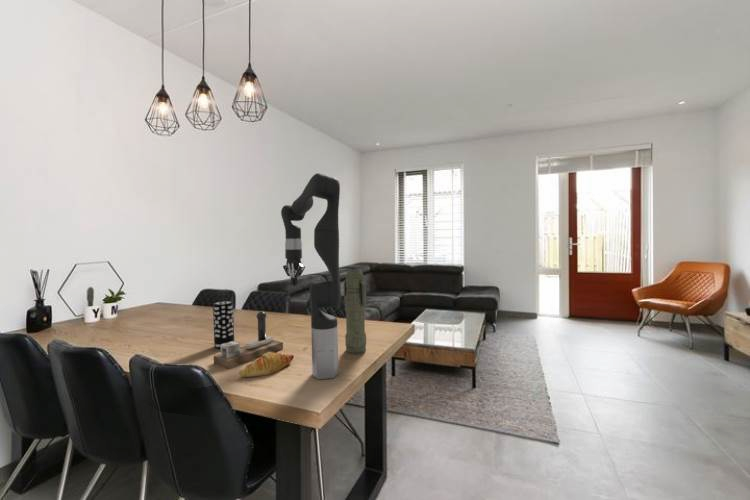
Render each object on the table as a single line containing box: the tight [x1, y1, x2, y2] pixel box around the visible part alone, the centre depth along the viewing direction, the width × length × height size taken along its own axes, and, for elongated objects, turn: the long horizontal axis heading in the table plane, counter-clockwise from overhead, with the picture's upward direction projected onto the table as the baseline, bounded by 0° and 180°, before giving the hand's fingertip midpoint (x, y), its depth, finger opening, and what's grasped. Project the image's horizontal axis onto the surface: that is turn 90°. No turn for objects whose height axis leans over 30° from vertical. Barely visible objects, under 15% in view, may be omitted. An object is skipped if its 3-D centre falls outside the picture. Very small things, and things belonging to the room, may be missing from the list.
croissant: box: [238, 351, 295, 378], centre depth 123 cm, size 21×10×8 cm, turn 135°
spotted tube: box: [212, 300, 235, 350], centre depth 151 cm, size 8×8×20 cm
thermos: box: [343, 268, 368, 355], centre depth 142 cm, size 9×12×35 cm
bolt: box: [245, 310, 275, 349], centre depth 142 cm, size 12×4×14 cm, turn 146°
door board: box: [213, 339, 284, 369], centre depth 138 cm, size 26×10×8 cm, turn 146°
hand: (294, 285), depth 155 cm, fingers closed
